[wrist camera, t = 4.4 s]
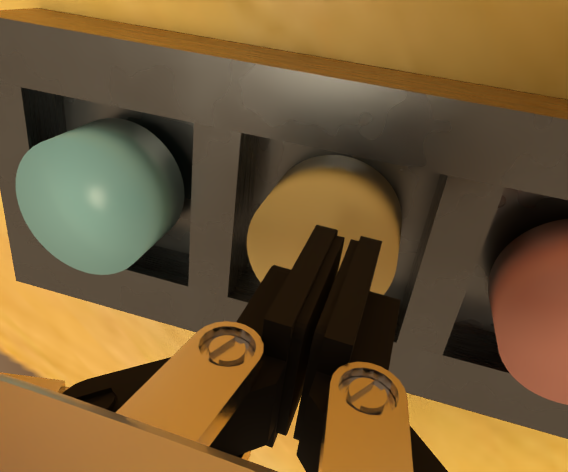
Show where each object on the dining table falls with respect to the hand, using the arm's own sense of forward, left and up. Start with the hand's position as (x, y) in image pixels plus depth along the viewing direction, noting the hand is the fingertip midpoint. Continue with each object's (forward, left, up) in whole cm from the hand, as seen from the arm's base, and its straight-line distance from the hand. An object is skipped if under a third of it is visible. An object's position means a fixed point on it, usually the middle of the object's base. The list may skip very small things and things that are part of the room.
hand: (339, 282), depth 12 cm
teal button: (+8, +1, -4) cm, 9 cm away
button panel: (+1, +1, -6) cm, 6 cm away
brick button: (-7, +1, -4) cm, 8 cm away
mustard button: (+1, +1, -5) cm, 5 cm away
